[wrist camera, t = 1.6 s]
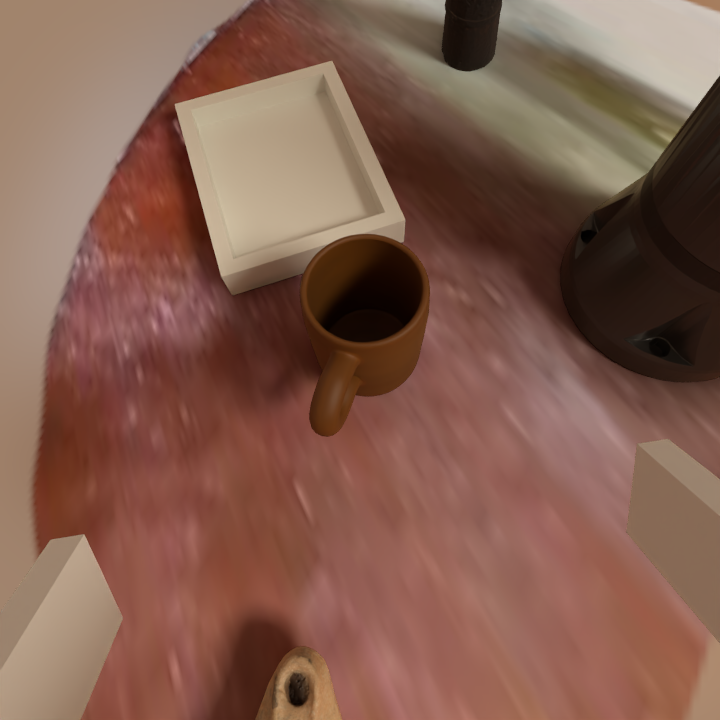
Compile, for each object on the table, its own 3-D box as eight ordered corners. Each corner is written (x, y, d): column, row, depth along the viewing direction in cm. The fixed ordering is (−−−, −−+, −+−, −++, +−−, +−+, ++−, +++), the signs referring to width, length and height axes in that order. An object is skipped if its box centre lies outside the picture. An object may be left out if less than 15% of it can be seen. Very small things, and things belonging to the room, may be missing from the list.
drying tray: (334, 88, 45) (332, 60, 43) (403, 241, 39) (405, 219, 36) (186, 130, 44) (174, 104, 41) (232, 295, 37) (221, 276, 35)
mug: (385, 473, 32) (387, 447, 23) (280, 440, 33) (245, 402, 24) (430, 320, 36) (447, 247, 27) (336, 294, 37) (322, 217, 28)
